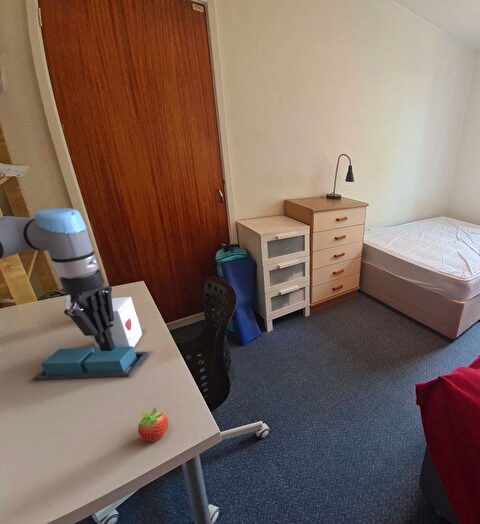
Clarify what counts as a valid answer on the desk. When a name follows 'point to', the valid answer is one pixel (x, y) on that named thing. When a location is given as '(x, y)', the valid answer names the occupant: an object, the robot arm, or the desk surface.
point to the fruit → (153, 426)
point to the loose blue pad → (111, 360)
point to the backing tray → (140, 359)
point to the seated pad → (67, 361)
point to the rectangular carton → (123, 323)
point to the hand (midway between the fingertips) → (108, 349)
